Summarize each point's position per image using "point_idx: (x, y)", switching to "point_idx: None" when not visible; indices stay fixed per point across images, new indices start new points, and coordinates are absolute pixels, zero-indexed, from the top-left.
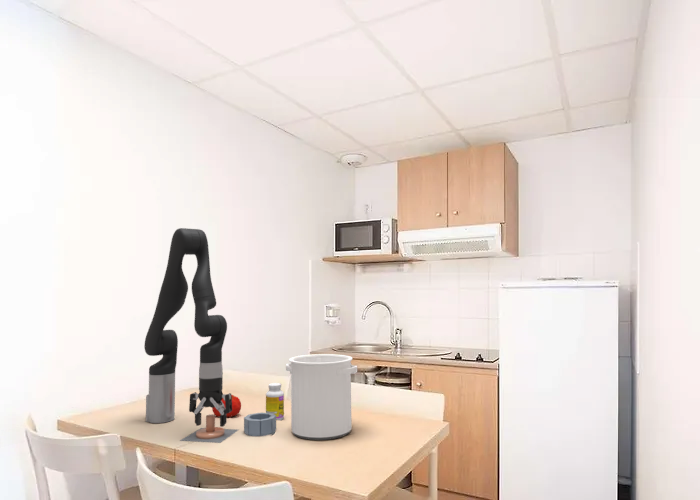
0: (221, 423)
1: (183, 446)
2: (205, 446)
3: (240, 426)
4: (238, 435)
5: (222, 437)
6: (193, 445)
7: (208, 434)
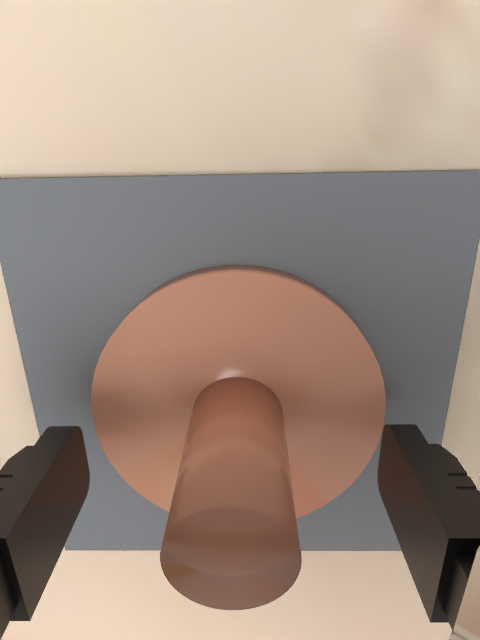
0: (42, 447)
1: (376, 41)
2: (118, 92)
3: (136, 629)
4: (11, 454)
5: (73, 344)
6: (274, 102)
7: (196, 314)
